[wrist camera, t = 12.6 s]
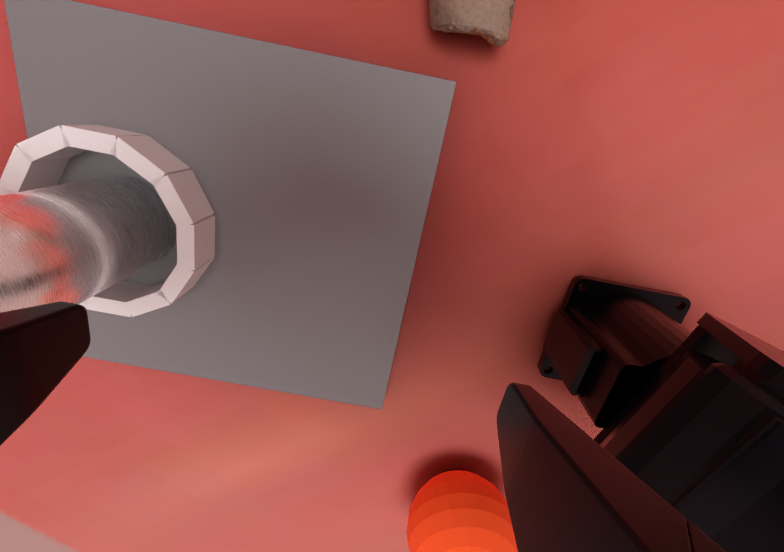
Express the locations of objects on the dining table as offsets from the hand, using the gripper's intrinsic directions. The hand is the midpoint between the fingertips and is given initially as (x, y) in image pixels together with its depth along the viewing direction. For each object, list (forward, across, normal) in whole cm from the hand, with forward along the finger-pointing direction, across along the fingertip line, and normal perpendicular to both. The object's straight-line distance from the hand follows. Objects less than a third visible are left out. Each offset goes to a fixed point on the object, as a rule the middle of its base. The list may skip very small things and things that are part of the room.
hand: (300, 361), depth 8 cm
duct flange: (+13, +6, +2) cm, 15 cm away
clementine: (+13, -9, +18) cm, 24 cm away
